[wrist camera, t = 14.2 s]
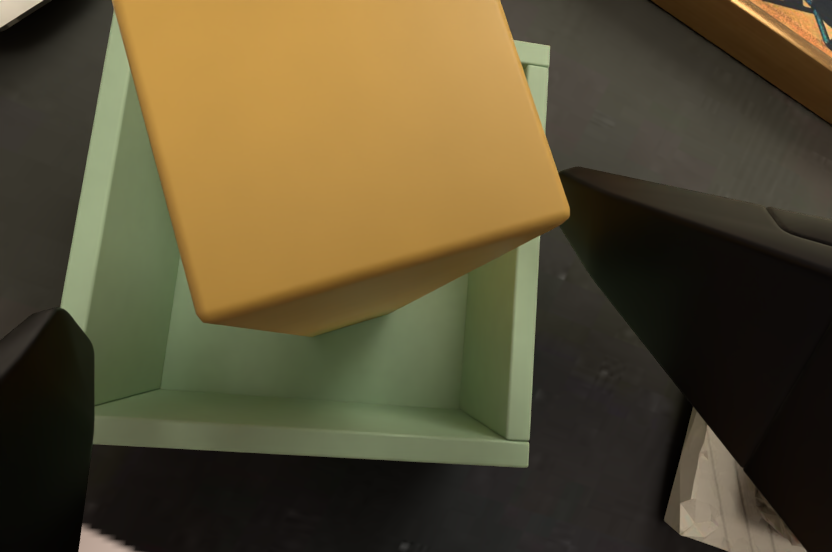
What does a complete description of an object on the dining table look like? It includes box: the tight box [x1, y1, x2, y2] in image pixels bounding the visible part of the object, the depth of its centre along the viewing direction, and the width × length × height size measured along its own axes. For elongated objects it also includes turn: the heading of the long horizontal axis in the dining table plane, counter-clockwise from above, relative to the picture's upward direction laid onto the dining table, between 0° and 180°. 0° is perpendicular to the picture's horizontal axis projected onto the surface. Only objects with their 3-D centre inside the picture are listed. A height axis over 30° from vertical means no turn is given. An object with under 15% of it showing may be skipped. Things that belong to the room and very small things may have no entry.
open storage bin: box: [60, 10, 550, 468], centre depth 14 cm, size 11×11×6 cm
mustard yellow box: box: [112, 0, 570, 337], centre depth 10 cm, size 5×3×13 cm, turn 17°
